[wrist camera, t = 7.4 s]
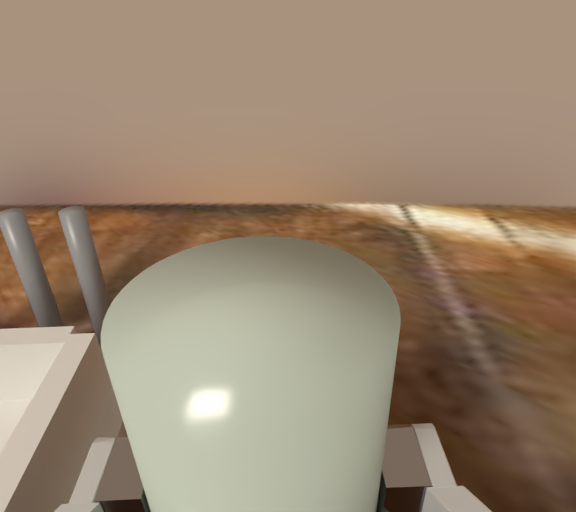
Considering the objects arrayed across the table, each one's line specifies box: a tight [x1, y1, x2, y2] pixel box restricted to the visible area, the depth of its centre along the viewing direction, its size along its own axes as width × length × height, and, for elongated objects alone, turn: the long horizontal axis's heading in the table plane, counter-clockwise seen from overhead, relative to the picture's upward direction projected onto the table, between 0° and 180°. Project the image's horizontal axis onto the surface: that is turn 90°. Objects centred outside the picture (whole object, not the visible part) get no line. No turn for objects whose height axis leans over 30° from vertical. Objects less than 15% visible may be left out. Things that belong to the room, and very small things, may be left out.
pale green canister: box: [101, 236, 401, 512], centre depth 11 cm, size 5×5×11 cm
